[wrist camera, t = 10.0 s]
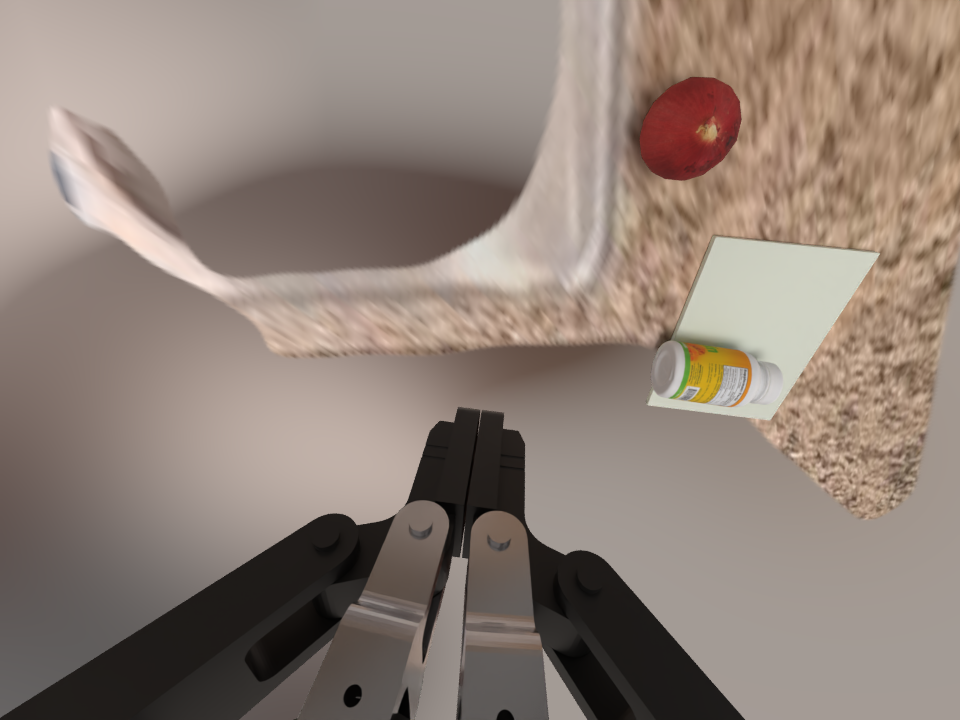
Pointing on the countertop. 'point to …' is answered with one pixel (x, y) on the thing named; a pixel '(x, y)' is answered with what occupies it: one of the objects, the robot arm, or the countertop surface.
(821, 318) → the mat
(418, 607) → the robot arm
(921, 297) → the countertop surface
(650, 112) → the onion
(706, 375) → the supplement bottle
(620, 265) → the countertop surface
